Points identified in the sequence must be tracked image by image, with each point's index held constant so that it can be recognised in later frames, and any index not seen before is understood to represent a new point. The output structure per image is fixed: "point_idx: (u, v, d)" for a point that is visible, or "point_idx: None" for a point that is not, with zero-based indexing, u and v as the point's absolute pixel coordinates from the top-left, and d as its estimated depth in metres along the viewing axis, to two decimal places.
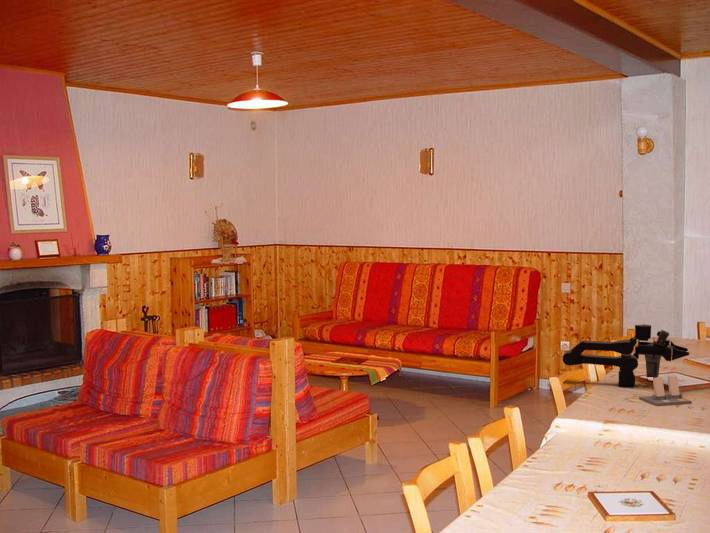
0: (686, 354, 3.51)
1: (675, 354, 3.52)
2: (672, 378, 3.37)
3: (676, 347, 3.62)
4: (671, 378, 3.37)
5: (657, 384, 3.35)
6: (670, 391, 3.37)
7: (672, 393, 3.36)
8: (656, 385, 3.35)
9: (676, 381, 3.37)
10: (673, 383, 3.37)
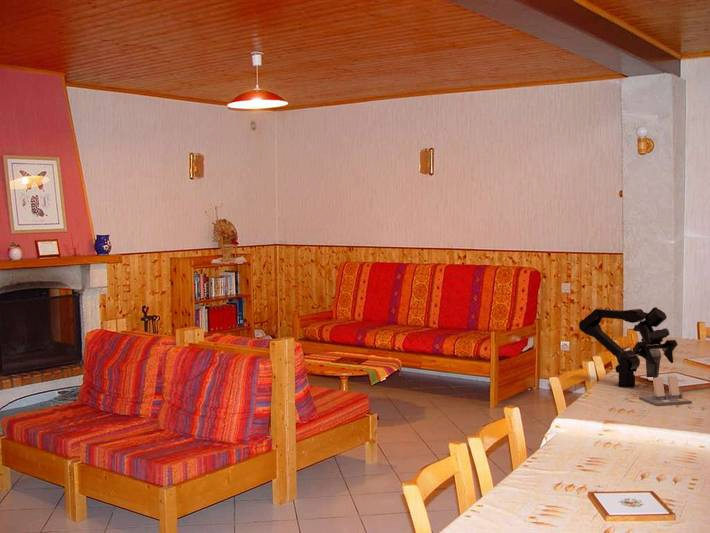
0: (651, 362, 3.44)
1: (645, 354, 3.47)
2: (672, 378, 3.37)
3: (668, 352, 3.48)
4: (671, 378, 3.37)
5: (657, 384, 3.35)
6: (670, 391, 3.37)
7: (672, 393, 3.36)
8: (656, 385, 3.35)
9: (676, 381, 3.37)
10: (673, 383, 3.37)
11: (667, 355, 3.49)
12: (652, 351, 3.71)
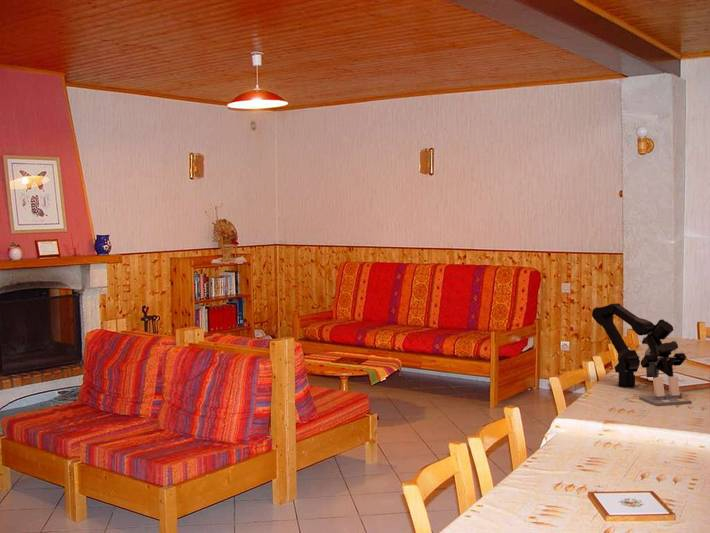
0: (668, 375, 3.39)
1: (662, 366, 3.42)
2: (673, 378, 3.37)
3: (668, 366, 3.41)
4: (672, 378, 3.37)
5: (657, 384, 3.35)
6: (670, 391, 3.36)
7: (672, 393, 3.36)
8: (656, 385, 3.35)
9: (677, 381, 3.37)
10: (673, 383, 3.37)
11: None
12: None
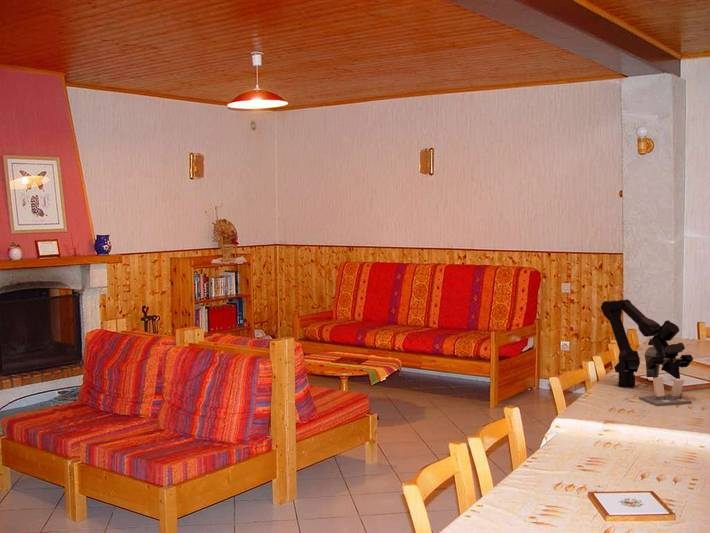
0: (675, 377, 3.35)
1: (669, 368, 3.38)
2: (678, 382, 3.33)
3: (675, 368, 3.37)
4: (677, 382, 3.33)
5: (657, 384, 3.35)
6: (672, 392, 3.35)
7: (673, 394, 3.35)
8: (656, 385, 3.35)
9: (681, 384, 3.34)
10: (678, 386, 3.34)
11: None
12: (652, 351, 3.71)
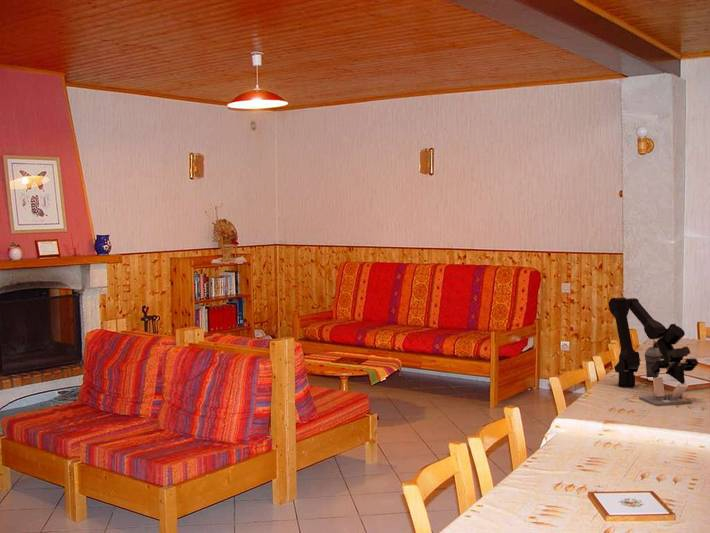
0: (680, 381, 3.32)
1: (673, 372, 3.35)
2: (682, 387, 3.31)
3: (680, 372, 3.34)
4: (681, 387, 3.31)
5: (657, 384, 3.35)
6: (673, 393, 3.35)
7: (673, 396, 3.35)
8: (656, 385, 3.35)
9: (684, 389, 3.32)
10: (680, 390, 3.33)
11: None
12: (652, 351, 3.71)
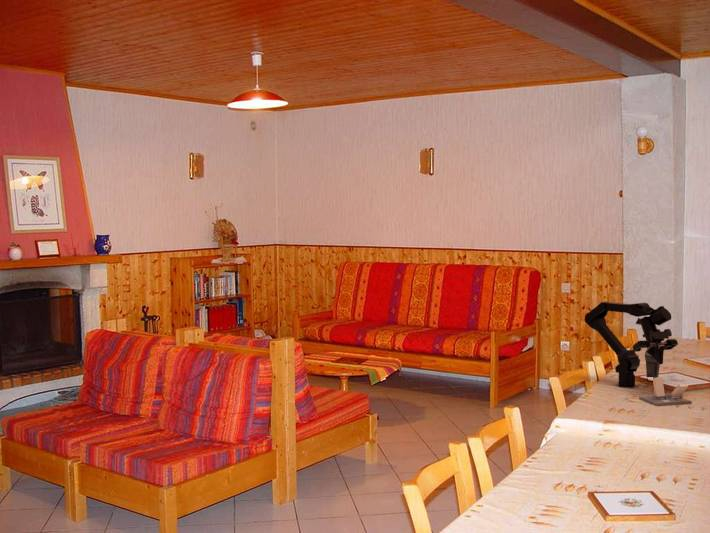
0: (658, 361, 3.47)
1: (653, 352, 3.49)
2: (682, 387, 3.31)
3: (659, 353, 3.48)
4: (681, 387, 3.31)
5: (657, 384, 3.35)
6: (673, 393, 3.35)
7: (673, 396, 3.35)
8: (656, 385, 3.35)
9: (684, 389, 3.32)
10: (680, 390, 3.33)
11: None
12: None
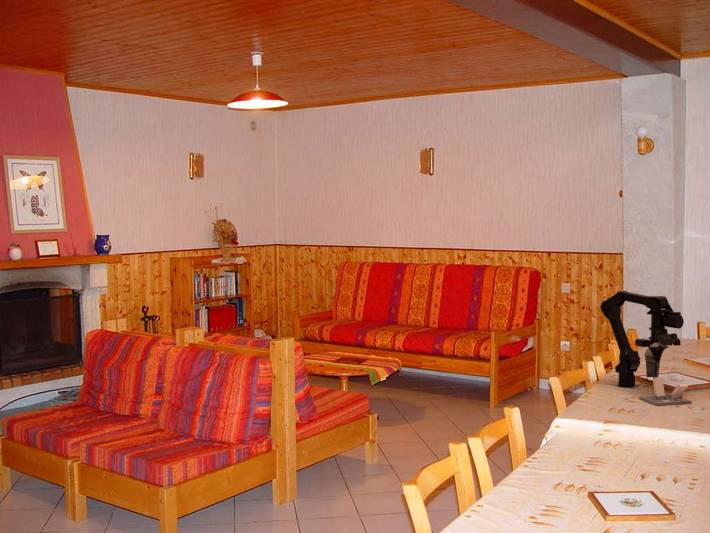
0: (655, 359, 3.51)
1: (653, 349, 3.51)
2: (682, 387, 3.31)
3: (659, 351, 3.50)
4: (681, 387, 3.31)
5: (657, 384, 3.35)
6: (673, 393, 3.35)
7: (673, 396, 3.35)
8: (656, 385, 3.35)
9: (684, 389, 3.32)
10: (680, 390, 3.33)
11: None
12: None
